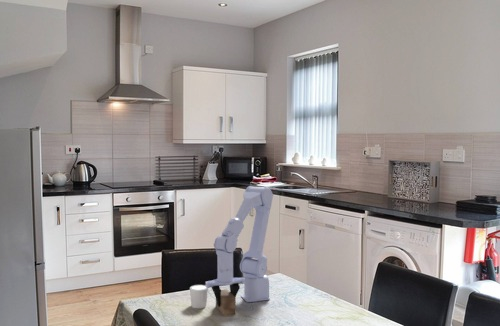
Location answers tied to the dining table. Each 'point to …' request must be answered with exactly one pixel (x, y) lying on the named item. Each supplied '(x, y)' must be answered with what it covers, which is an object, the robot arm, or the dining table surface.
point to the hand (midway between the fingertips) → (225, 304)
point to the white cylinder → (198, 296)
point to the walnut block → (227, 303)
